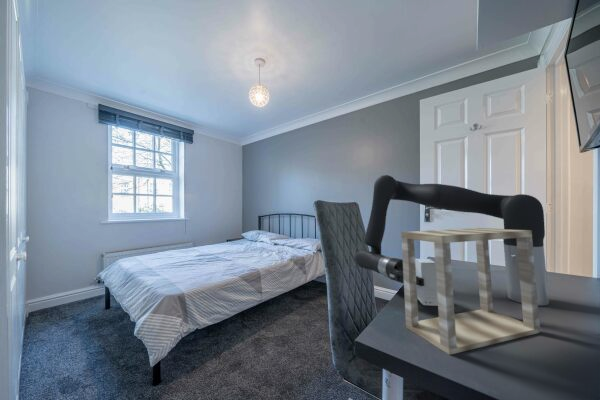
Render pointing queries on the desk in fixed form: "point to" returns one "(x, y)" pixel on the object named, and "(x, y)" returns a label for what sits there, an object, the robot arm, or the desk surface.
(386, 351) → the desk surface
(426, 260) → the skincare box
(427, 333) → the oak counter shelf
